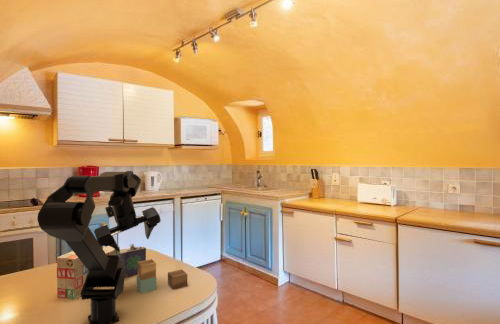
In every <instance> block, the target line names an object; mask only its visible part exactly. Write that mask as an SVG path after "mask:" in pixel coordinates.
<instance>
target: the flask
mask: <svg viewBox="0 0 500 324" xmlns="http://www.w3.org/2000/svg"><path fill="white" fill-rule="evenodd" d="M119 258H120V261H122V262H123V263H122V265H123V267H124V269H125V279H127V278H130V277H134V276H138V262H140V261H145V260H147V247H145V246H137V247H136V246H135V245H134V243H132V244H130V246H129V249H126V250H122V251H120V253H119Z"/></svg>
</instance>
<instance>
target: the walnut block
mask: <svg viewBox="0 0 500 324" xmlns="http://www.w3.org/2000/svg"><path fill="white" fill-rule="evenodd" d="M167 285H168V286H169V287H170V288H171V290H177V289H182V288H185V287H188V273H187V272H186V271H185V270H183V269H181V268H180V269H178V270H177V269H176V270H173V271H169V272H167Z"/></svg>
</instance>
